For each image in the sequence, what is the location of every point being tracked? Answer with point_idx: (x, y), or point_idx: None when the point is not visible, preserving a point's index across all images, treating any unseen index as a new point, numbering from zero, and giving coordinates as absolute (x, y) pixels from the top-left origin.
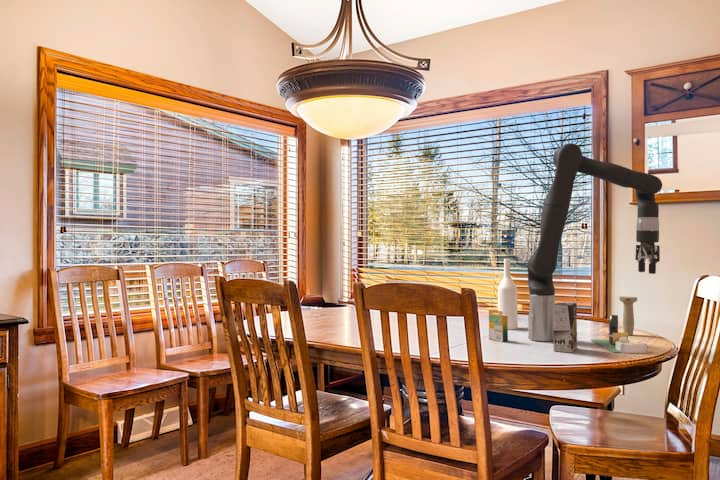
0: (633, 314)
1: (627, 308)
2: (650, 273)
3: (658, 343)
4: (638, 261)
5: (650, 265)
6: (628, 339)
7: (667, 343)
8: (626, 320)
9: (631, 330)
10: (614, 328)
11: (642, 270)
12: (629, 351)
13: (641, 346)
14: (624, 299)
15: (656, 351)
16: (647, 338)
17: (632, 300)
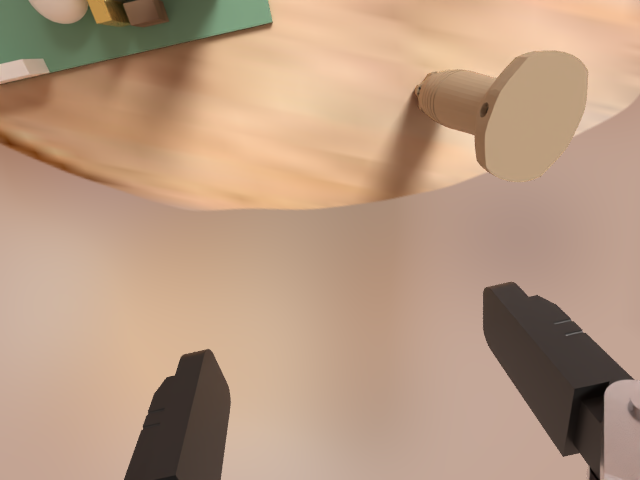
0: (462, 131)
1: (470, 99)
2: (187, 357)
3: (250, 175)
4: (608, 394)
5: (158, 456)
6: (44, 14)
7: (260, 207)
8: (439, 85)
9: (421, 105)
10: None
11: (492, 329)
12: None
13: None
14: (497, 83)
15: (60, 131)
16: (357, 156)
17: (476, 139)
